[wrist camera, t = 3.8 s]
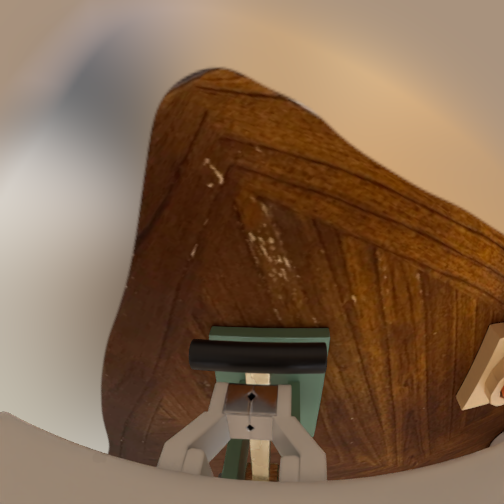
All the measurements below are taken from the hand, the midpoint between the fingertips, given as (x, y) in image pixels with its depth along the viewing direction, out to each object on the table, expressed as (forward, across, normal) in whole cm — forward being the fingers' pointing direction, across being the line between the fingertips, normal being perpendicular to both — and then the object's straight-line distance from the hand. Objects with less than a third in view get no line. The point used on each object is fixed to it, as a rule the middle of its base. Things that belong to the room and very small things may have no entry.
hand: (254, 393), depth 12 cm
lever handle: (+2, 0, +6) cm, 7 cm away
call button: (+11, -25, +11) cm, 29 cm away
